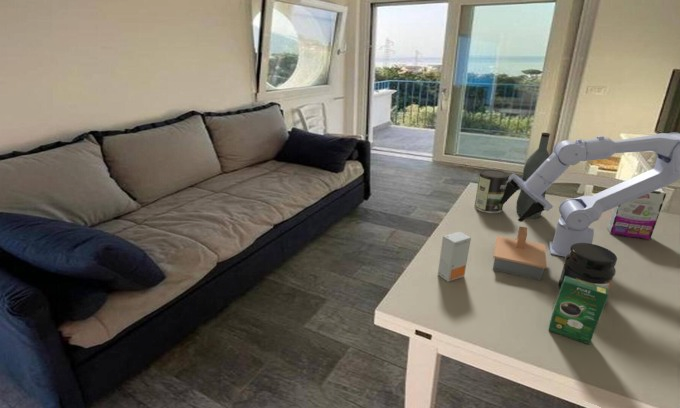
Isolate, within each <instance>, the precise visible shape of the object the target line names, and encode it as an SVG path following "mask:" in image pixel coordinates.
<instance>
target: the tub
mask: <svg viewBox="0 0 680 408" xmlns="http://www.w3.org/2000/svg"><path fill="white" fill-rule="evenodd" d="M493 259H494V260H493V266H492V270H494V271H498V272H502V273H506V274H511V275H515V276H520V277H525V278H530V279H534V280H537V281H542V277H543V273H544V269H545V268H540V267H535V266H531V265H526V264H521V263H516V262H512V261H507V260H502V259H497V258H493Z"/></svg>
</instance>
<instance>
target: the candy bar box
mask: <svg viewBox="0 0 680 408" xmlns="http://www.w3.org/2000/svg"><path fill="white" fill-rule="evenodd" d="M666 196H667V192H666V190H664V189H663V187H662V188H660V189H658V190H655V191H653V192H650V193H648V194H646V195H643V196H641V197H638V198H636V199H634V200H631V201H629V202H626V203H624V204H622V205H619V206H617V207H614V208H612V212H611V215H610V218H609V221H608V225H607V230H608V232H609V234H610V235H613V236H614V235H615V236H620V237H628V238H635V239H641V240H647V241H649V240H651V238H652V236H653V232H654V230H655V228H656V225H657V221H658V218H659V216H660V213H661V211H662V208H663V207H662V206H663V205H664V204H663V203H664V202H665V199H666Z"/></svg>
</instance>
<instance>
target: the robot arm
mask: <svg viewBox="0 0 680 408" xmlns="http://www.w3.org/2000/svg"><path fill="white" fill-rule="evenodd" d="M638 152H640V153H642V152H654V153H656V161H655V163H654V166H653V168H651V169H649V170H647V171H645V172H642V173H640V174H638V175H636V176H634V177H631V178H629V179H626V180H624V181H622V182H620V183H617V184H615V185H613V186H611V187H608V188H606V189H604V190H601V191H599V192H597V193H595V194H592V195H581V196H578V197H574V198H567V199H565V200H563V201H562V202H561V203H560V204H559V207H558V211H559V214H560V215H561V216H560V218H559V219H558V221H557V224H556V225H557V226H556V229H555V232H554V237H553V239H552V240H553V241H549V244H548V245H549V249H550V251H549V253H550V255H554V256H560V257H563V258H565V257H566V256H567V255H569V251H570V248H571V246H572V245H573V244H576V243H589V244H593V241H594V236H595V235H594V234H595V231H594V228H592V227H590V225H592V224H593V223H594V222H597V221H599V220H600V218H601V216H602V214H603V213H604V212H607V211H609V210H611V209H612V210H613V208H614V207H617V206H619V205H622V204H624V203H626V202H629V201H631V200H634V199H636V198H638V197H641V196H643V195H646V194H648V193H650V192H653V191H655V190H658V189H660V188H662V189H663V188H665V187H667V186H669V185H672V184H674V183H675V182H677V181H678V180H680V132H676V131H675V132H669V133H666V132H665V133H664V132H660V133H655V134H651V135H644V136H636V137H631V138H623V139H617V140H612V139H611V138H610V137H607V136H606V137H605V136H604V135H596V137H595V138H589V139H588V138H587V139H582V138H577V139H576V140H575V141H573V140H569V139H566V140H562V141H560V142H558V143H556V144H555V145H554V146H553V150H552V153H551V154H549V157H548V158H547V159H546V160H545V161H544V162H543V164H542V165H541V166H540V167H539V168H538V169H537V170H536V171H535V172H534V173H533V174H532V175H531V176H530V177H529V178H528V179H527V181H526V182H525V181H523V180H522V179H523V178H521V177H519V176H518V175H517V174H515V173H511V174H510V175H509V178H508V180H509V181H508V182H507V186H506V190H505V192H504V195H503V197H502V199H501V200H500V202H499V203H500V204H503V205H504V204H505V203H506V202H508V200H509V199H511V197H512V196H513V195H514V194H515V193H516V192H517V191H519V190H521V189H522V190H523V191H524V192H526V193H527V194H528V195H529V196H530V197H531V198H533V199H534V200H535V201H536V202H537V203H533V204H532V205H531V206H530V208H529V209H528V210H527V211H526V212H525V213H524V214H523V215H522V216H521V215H520V217H519V218H518V219H517V220H518V222H521V223H522V222H524V221H525V220H526V219H529V218H528V217H530V216H532V215H534V214H536V213H539V212H541V211H542V212H544V211H546V212H549V211H550V210H551V209H552V208H553V207H554V205H553V204H552V203H550V202H549V201H548V200H547V199H546V197H545V198H544V197H543V196H542V194H543V193H544V192H545V191H546V192H547V189H549V188H550V187H551V186H552V185H553V184H554V183H555V182H556V181H557V180H558V179H559V177H560V176H561V175H563V173H565V171H566V170H567V169H568V168H569V167H570V166H576V165H577V164H579V163H580V162H586V161H587V162H588V161H589V162H590V161H597V160H598V161H599V160H606V159H607V160H608V159H610V158H611V157H613V155H614V154H622V153H623V154H624V153H627V154H628V153H638ZM546 192H545V193H546ZM531 194H532V195H533V196H534V197H533V196H532V195H531Z"/></svg>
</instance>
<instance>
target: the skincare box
mask: <svg viewBox="0 0 680 408" xmlns="http://www.w3.org/2000/svg"><path fill="white" fill-rule="evenodd" d="M471 240H472V238H471V237H470V236H468V235H467V234H465V233H464V232H462V231H456V232H452V233H450V234H447V235H443V236H442V241H441V247H440V248H441V249H440V256H439V263H438V270H437V275H438V276H439V277H440V278H442V279H444V280H445V281H446V282H448V283H449V282H452V281H455V280H459V279H461V278H464V277H465V274H466V269H467V263H468V257H469V252H470V245H471Z"/></svg>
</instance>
